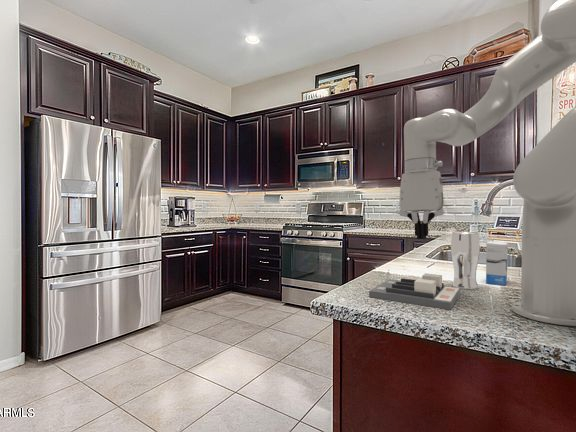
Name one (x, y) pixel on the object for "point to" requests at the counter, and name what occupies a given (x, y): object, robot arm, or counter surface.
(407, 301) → the switch panel
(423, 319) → the counter surface
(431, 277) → the tab
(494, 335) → the counter surface
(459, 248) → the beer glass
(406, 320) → the counter surface
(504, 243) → the ink box
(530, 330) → the counter surface
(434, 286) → the tab
